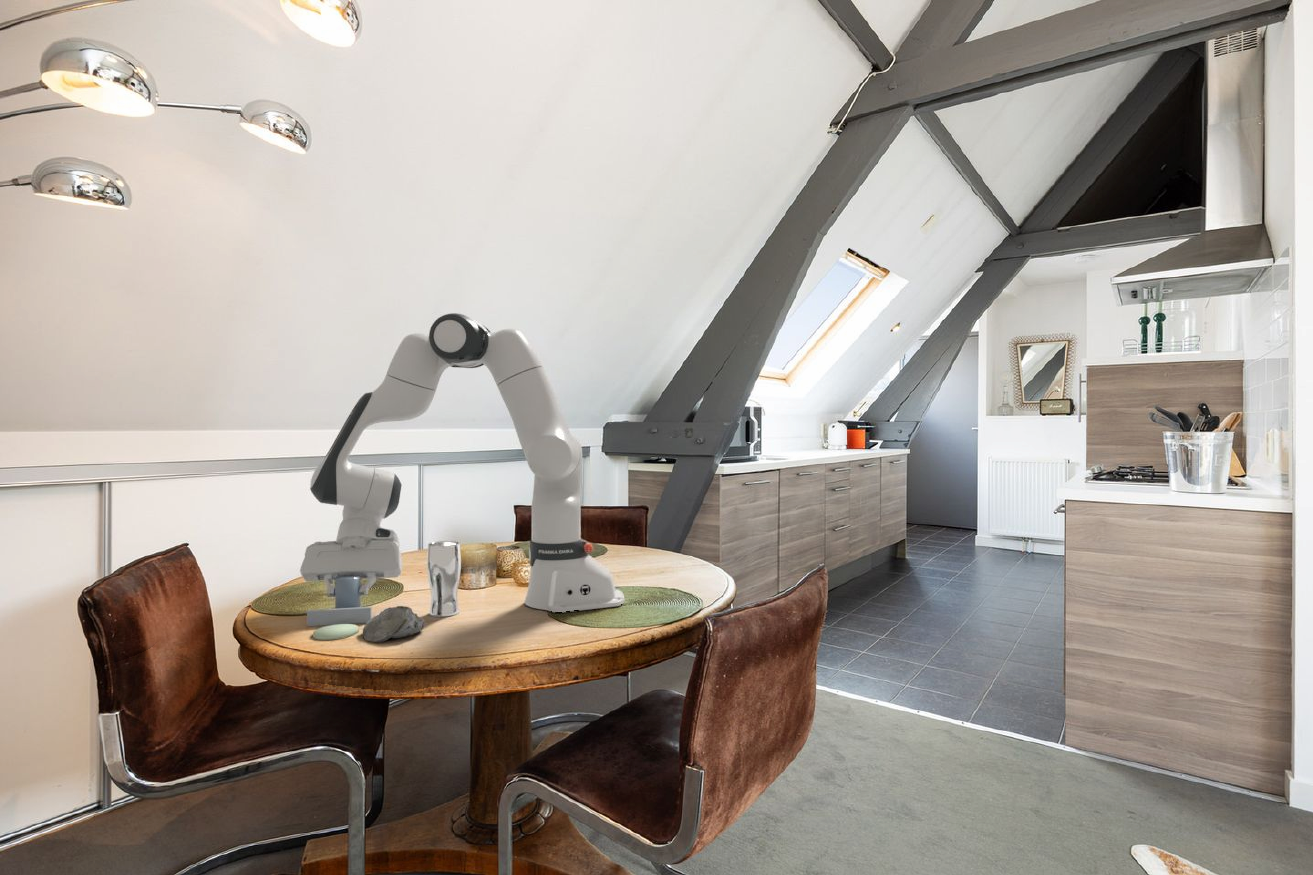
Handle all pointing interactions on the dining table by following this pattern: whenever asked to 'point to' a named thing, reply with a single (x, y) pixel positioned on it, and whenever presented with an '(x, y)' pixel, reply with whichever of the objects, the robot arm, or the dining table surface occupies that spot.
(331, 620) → the wall
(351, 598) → the blue-grey cylinder
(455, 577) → the beer glass
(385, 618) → the fossilized seashell
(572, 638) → the dining table surface
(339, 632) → the coaster
